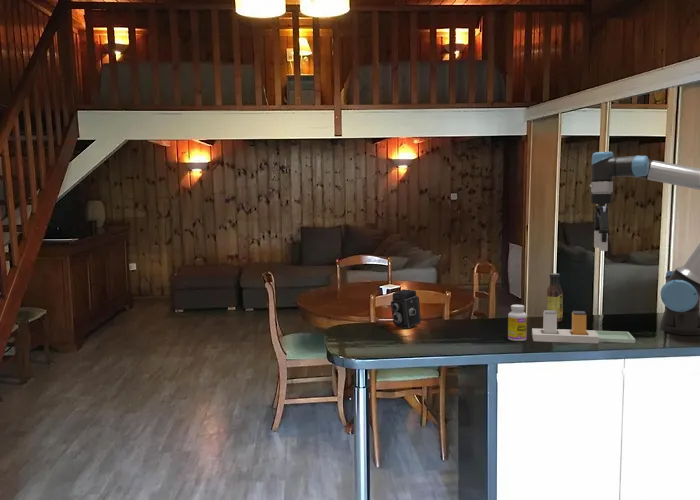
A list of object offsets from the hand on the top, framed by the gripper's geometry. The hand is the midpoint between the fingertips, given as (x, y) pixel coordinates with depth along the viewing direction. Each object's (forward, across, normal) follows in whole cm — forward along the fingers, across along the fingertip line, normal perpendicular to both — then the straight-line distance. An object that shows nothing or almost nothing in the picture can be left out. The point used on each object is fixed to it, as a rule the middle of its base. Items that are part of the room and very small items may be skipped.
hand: (600, 249), depth 232 cm
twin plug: (+31, +18, -20) cm, 41 cm away
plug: (+31, +18, -10) cm, 37 cm away
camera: (+32, +5, -75) cm, 82 cm away
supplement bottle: (+32, +20, -31) cm, 49 cm away
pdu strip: (+32, +18, -14) cm, 39 cm away
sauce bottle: (+32, -16, -15) cm, 39 cm away
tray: (+32, +14, +3) cm, 35 cm away
